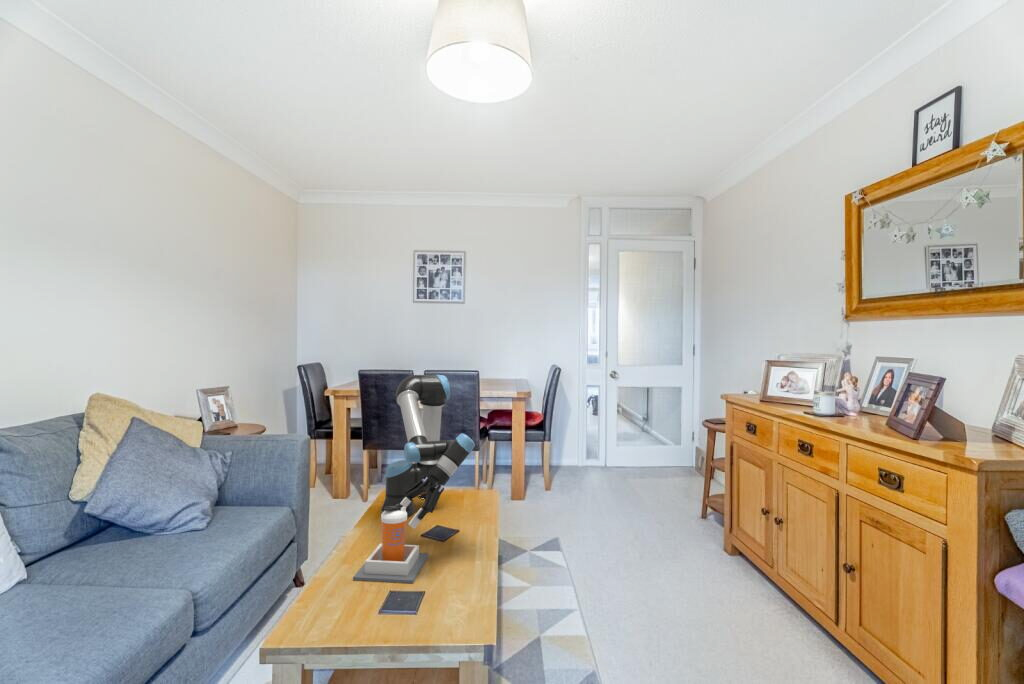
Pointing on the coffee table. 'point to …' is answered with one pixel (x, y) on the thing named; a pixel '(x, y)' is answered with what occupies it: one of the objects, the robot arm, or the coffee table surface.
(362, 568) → the holder
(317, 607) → the coffee table surface
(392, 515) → the shaker bottle
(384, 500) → the robot arm
